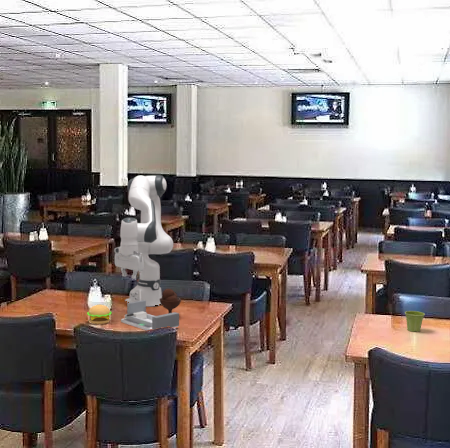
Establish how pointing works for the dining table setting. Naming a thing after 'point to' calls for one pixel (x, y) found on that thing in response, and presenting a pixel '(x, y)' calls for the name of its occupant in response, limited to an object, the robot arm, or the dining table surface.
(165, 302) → the ice cream bowl
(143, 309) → the gauge carriage
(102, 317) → the hamburger
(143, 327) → the grey mounting bracket
